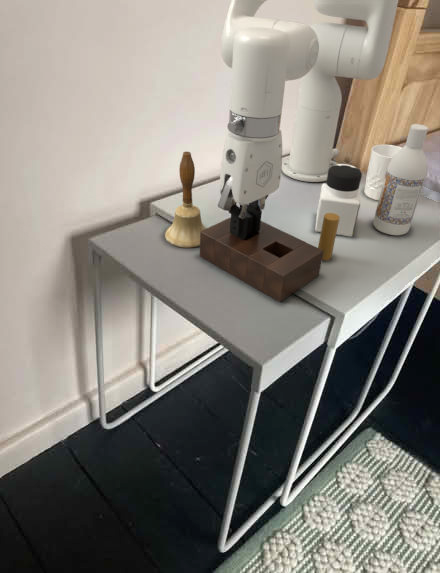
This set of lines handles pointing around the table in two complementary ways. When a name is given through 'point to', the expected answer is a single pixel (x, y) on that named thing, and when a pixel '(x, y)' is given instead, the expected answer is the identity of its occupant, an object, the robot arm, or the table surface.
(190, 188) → the hand bell
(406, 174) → the bath foam
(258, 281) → the pin block
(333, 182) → the medicine bottle
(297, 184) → the table surface
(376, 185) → the white cup
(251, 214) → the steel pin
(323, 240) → the brass pin
